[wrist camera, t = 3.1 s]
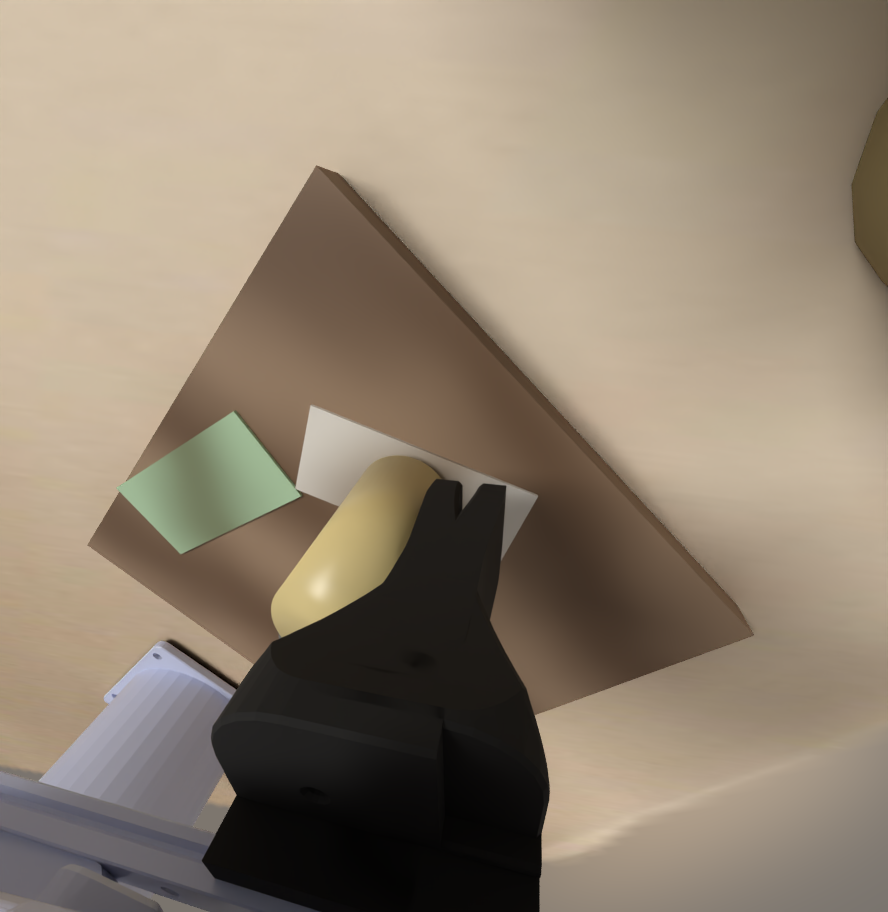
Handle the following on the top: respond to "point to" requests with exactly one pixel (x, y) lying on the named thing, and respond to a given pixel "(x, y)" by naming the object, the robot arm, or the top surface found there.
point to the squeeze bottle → (873, 197)
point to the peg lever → (355, 544)
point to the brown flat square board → (390, 434)
